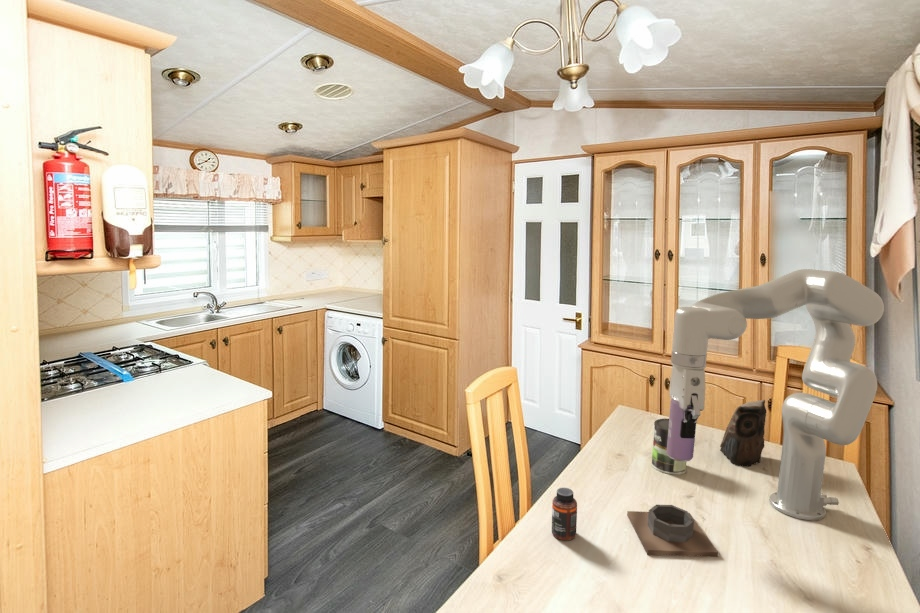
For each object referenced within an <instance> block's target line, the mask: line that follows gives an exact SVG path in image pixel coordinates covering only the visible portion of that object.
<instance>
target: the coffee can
mask: <svg viewBox="0 0 920 613" xmlns="http://www.w3.org/2000/svg"><path fill="white" fill-rule="evenodd" d="M653 424H654V428H653V440H652V441H653V442H652V454H651V455H652V456H651V463H650V464H651V467H652V468H653V469H655V470H656V471H658V472H660V473H663V474H668V475H673V476H674V475H677V476H678V475H682V474H685V473H686V471H687V462H688V461H687V462H681V461H676V460H673V459H671V458H670V457H669V456H668V455H667V440H668V428H669V418H659V419H656V420H654V423H653Z"/></svg>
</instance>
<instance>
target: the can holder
mask: <svg viewBox="0 0 920 613" xmlns="http://www.w3.org/2000/svg"><path fill="white" fill-rule="evenodd" d="M626 514H627V515H626V516H627V518H628V520H629V522H630V524H631V526H632V528H633V529H634V531H635V532H634V533H636V535H637V538H638V539H639V542H640V544H641V545H642V547H643V550H644V551H645V554H646V555H647V556H648V555H649V556H670V557H671V556H674V557H675V556H676V557H703V558H704V557H707V558H708V557H709V558H718V557H719V551H718V550H717V548H716V547H715V546H714V544H713V543H712V542H711V540H710V539H709V537H708V536H707V535H706V533H705V532H704V530H703V529H702V528H701V526H700V525H699V524H698V522H697V521H696V520H695V518H694V517H693V515H692V514H691V513H690V512H688V511H687V510H685V509H683V508H680V507H678V506H675V505H673V504H655V505H654V506H652V507H651V508H650V509H649V510H648V511H634V510H632V511H631V510H627V513H626Z"/></svg>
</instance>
